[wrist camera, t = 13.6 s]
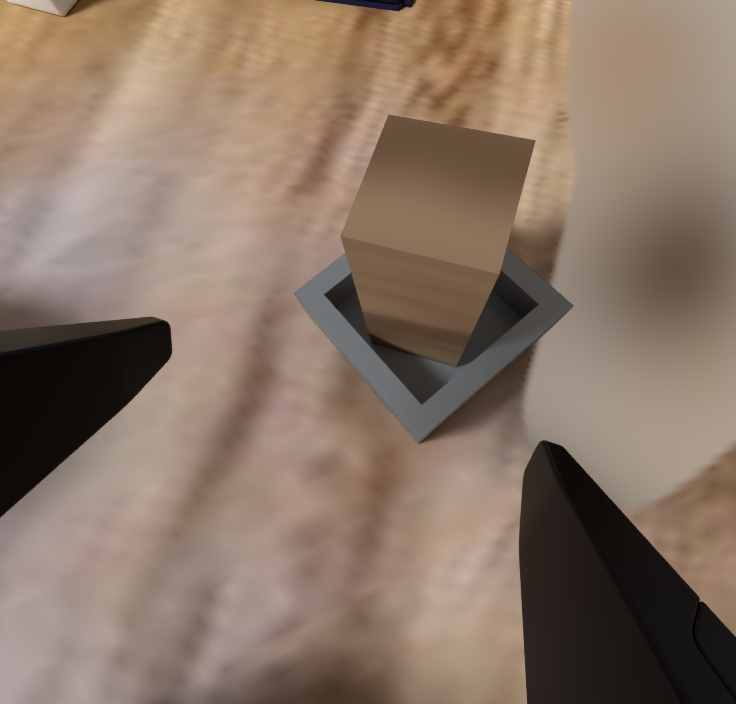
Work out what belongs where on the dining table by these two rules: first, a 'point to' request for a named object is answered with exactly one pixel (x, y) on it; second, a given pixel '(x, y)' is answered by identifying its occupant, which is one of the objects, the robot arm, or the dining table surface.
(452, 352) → the walnut block
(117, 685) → the dining table surface
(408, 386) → the holder box
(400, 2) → the laptop
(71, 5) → the medicine bottle
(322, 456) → the dining table surface
